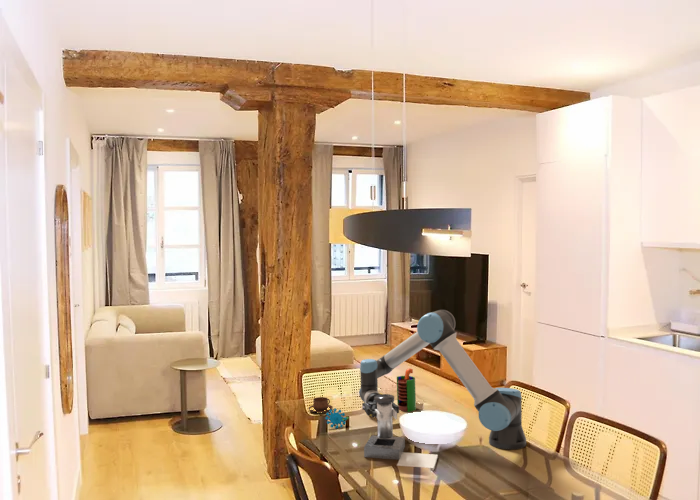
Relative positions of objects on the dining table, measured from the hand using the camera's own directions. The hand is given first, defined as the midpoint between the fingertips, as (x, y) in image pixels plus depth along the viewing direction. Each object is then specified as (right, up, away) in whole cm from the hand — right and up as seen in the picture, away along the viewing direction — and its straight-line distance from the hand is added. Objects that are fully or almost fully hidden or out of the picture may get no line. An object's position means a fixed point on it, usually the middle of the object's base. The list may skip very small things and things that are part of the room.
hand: (387, 416), depth 242 cm
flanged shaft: (-1, -9, +5) cm, 11 cm away
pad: (+11, -17, -4) cm, 21 cm away
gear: (-21, -16, +42) cm, 50 cm away
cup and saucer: (-30, -16, +67) cm, 75 cm away
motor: (+14, -15, +68) cm, 71 cm away
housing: (-1, -17, +6) cm, 18 cm away
